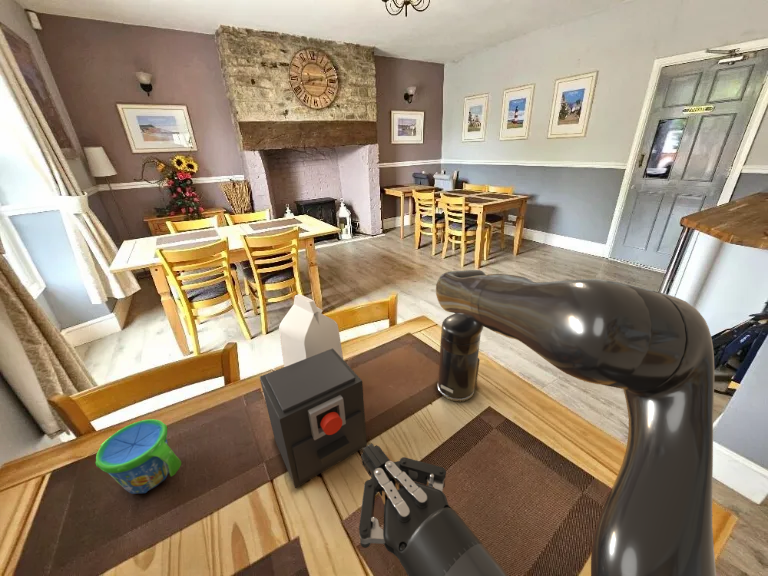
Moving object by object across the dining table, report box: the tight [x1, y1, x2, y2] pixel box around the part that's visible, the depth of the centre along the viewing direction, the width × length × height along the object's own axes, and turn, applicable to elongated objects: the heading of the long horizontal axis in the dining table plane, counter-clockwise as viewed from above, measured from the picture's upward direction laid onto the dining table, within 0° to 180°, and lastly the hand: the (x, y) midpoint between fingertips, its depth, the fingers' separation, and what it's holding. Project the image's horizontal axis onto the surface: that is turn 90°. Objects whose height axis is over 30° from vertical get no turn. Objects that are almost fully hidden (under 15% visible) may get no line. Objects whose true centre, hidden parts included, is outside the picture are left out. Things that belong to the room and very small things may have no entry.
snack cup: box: [94, 418, 182, 495], centre depth 60 cm, size 16×10×10 cm
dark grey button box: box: [259, 348, 368, 489], centre depth 63 cm, size 16×16×19 cm
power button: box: [321, 412, 343, 435], centre depth 55 cm, size 4×2×4 cm, turn 124°
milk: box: [278, 293, 344, 367], centre depth 80 cm, size 12×12×26 cm
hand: (366, 450), depth 43 cm, fingers closed
